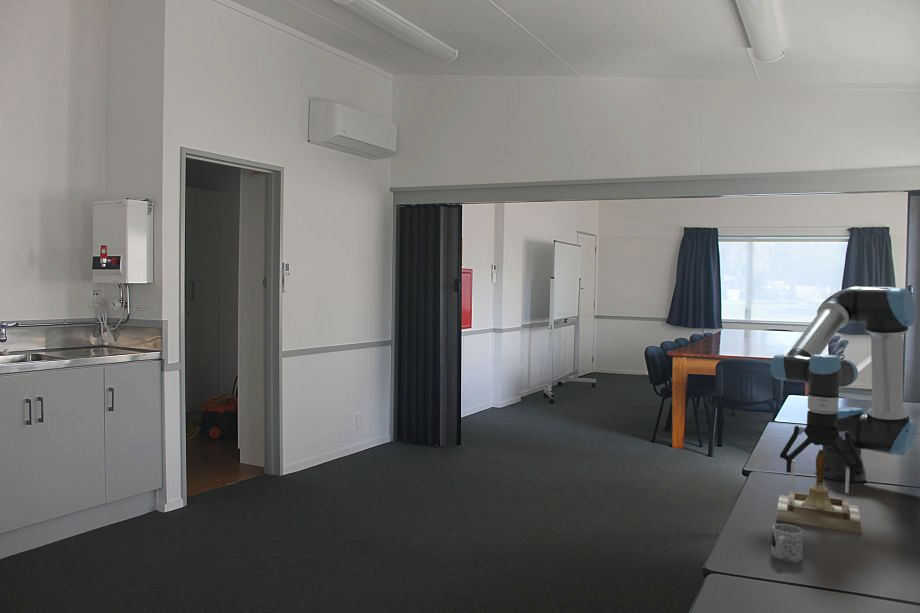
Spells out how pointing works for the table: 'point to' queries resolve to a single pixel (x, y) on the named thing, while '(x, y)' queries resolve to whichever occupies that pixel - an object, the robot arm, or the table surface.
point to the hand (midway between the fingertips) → (818, 488)
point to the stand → (819, 513)
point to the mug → (787, 542)
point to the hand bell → (819, 487)
